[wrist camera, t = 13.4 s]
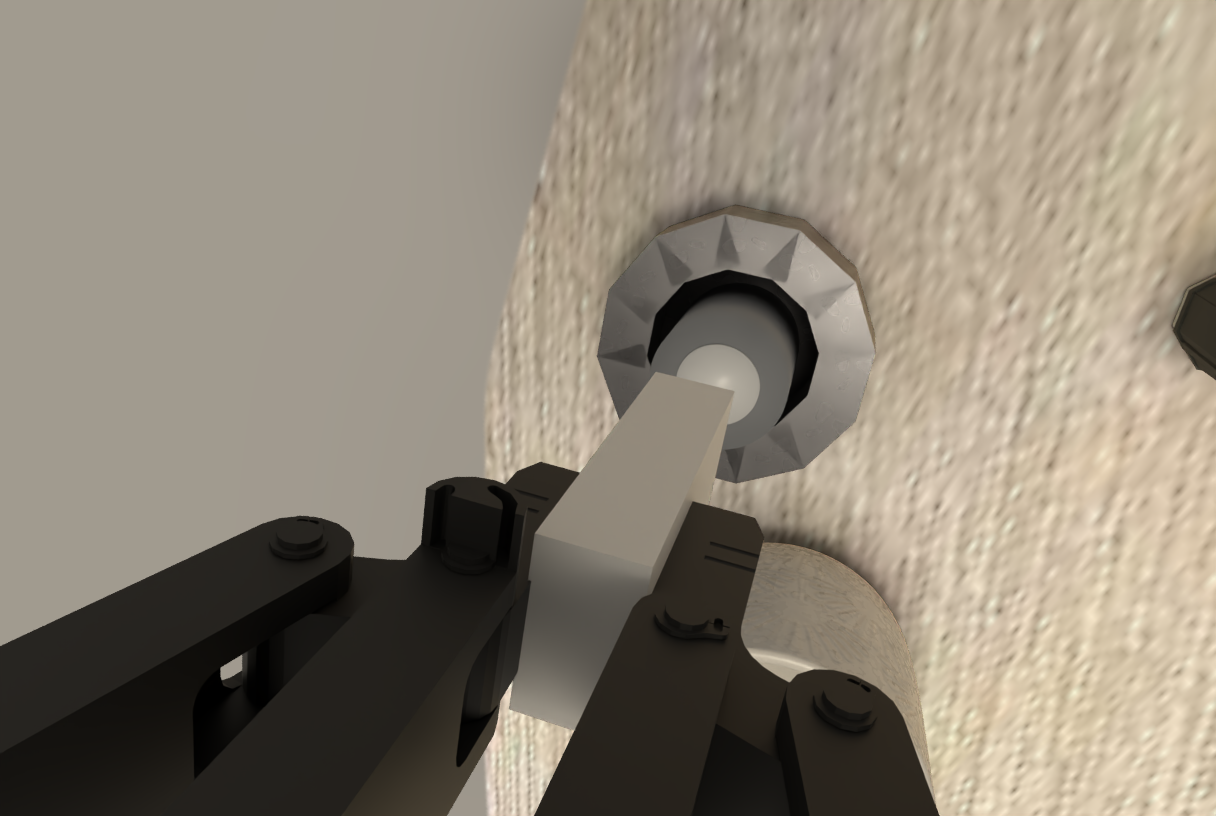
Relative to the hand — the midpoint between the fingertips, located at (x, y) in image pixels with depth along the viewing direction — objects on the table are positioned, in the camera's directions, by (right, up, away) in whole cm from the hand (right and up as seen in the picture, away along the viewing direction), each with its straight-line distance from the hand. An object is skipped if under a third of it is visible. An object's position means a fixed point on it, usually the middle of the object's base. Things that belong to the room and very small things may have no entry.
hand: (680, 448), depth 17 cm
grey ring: (+4, +4, +22) cm, 22 cm away
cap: (+4, +4, +21) cm, 22 cm away
